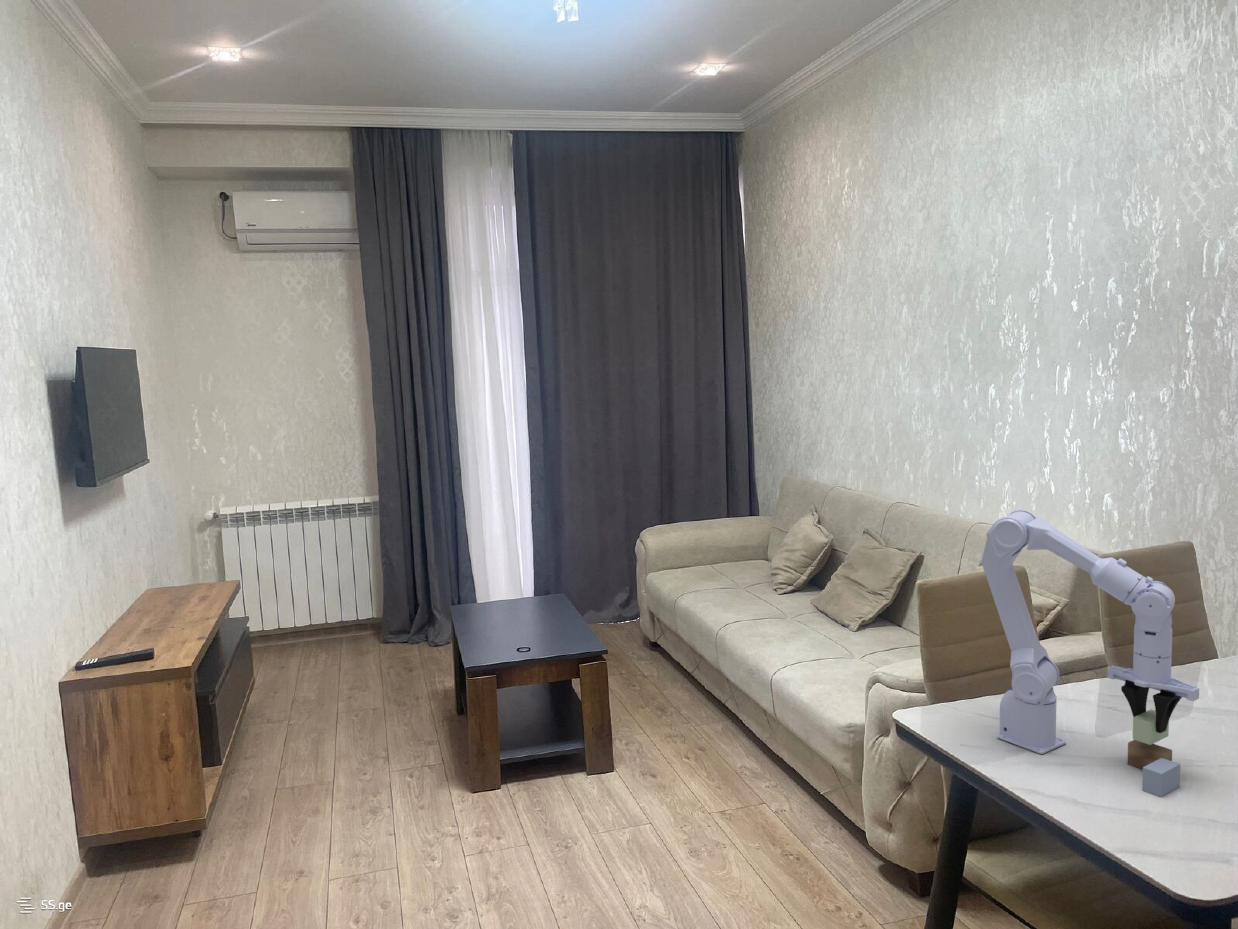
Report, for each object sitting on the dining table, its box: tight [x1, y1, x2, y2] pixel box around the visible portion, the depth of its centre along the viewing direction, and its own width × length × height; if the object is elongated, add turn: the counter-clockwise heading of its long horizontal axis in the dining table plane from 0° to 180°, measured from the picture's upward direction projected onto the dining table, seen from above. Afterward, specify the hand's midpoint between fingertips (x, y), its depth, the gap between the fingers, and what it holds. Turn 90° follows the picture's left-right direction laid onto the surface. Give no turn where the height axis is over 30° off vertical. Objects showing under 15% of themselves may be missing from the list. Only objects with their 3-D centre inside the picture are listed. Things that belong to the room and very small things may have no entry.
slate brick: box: [1141, 758, 1181, 798], centre depth 150 cm, size 6×3×4 cm, turn 122°
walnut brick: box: [1127, 739, 1173, 770], centre depth 158 cm, size 6×3×4 cm, turn 32°
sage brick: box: [1132, 708, 1170, 745], centre depth 157 cm, size 6×3×4 cm, turn 122°
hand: (1150, 728), depth 157 cm, fingers closed on sage brick, 3 cm apart
